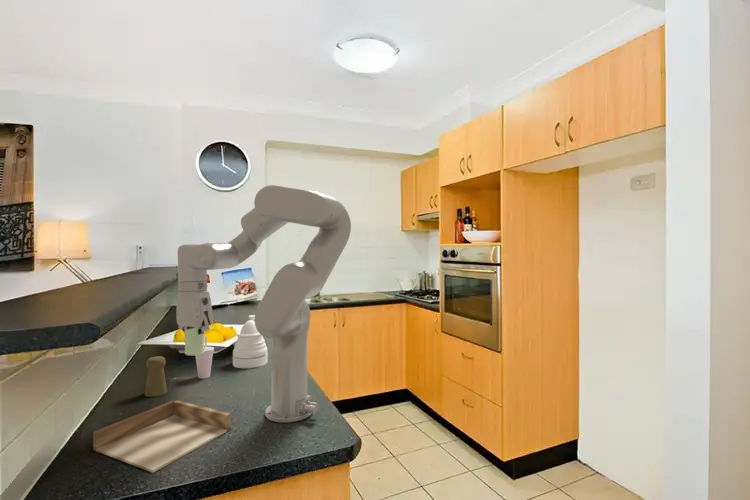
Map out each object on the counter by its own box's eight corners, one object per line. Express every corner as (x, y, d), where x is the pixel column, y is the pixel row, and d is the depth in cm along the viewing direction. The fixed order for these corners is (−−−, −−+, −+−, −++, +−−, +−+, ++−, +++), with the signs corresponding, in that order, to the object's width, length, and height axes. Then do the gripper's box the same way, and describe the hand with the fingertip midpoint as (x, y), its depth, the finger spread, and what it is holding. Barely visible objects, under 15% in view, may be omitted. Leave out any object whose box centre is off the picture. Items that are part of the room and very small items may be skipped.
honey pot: (240, 358, 156) (240, 313, 156) (271, 358, 155) (271, 314, 155) (226, 368, 143) (226, 319, 143) (261, 368, 142) (261, 320, 142)
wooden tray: (230, 429, 94) (230, 413, 94) (153, 472, 76) (153, 452, 76) (174, 414, 103) (174, 399, 103) (93, 450, 85) (93, 431, 85)
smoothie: (214, 378, 131) (214, 337, 131) (193, 380, 129) (193, 339, 129) (214, 372, 137) (214, 333, 137) (194, 374, 135) (194, 335, 135)
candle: (180, 354, 109) (181, 326, 109) (191, 349, 114) (192, 322, 114) (197, 356, 108) (197, 327, 108) (207, 351, 113) (208, 323, 113)
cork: (157, 397, 114) (157, 360, 114) (139, 395, 116) (139, 359, 116) (171, 390, 120) (171, 355, 120) (154, 388, 122) (154, 353, 122)
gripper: (222, 286, 111) (224, 350, 111) (185, 285, 118) (186, 345, 118) (201, 289, 104) (202, 356, 104) (163, 287, 111) (164, 351, 111)
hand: (194, 350), depth 111 cm, fingers closed on candle, 1 cm apart
